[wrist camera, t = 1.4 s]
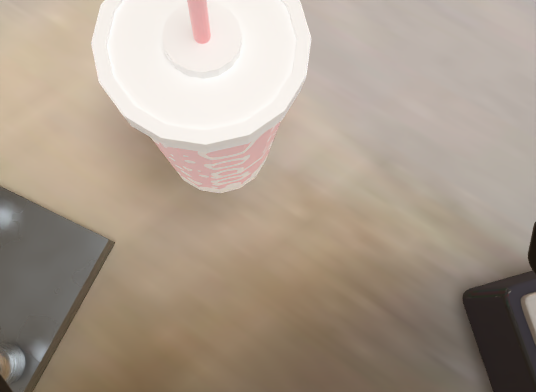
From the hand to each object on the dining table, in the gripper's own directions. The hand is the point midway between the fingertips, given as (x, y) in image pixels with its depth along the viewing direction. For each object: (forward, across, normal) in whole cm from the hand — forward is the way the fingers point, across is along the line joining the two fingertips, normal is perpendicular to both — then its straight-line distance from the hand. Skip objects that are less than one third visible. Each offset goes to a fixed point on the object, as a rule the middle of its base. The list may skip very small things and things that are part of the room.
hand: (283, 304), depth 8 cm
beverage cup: (+15, 0, +4) cm, 15 cm away
